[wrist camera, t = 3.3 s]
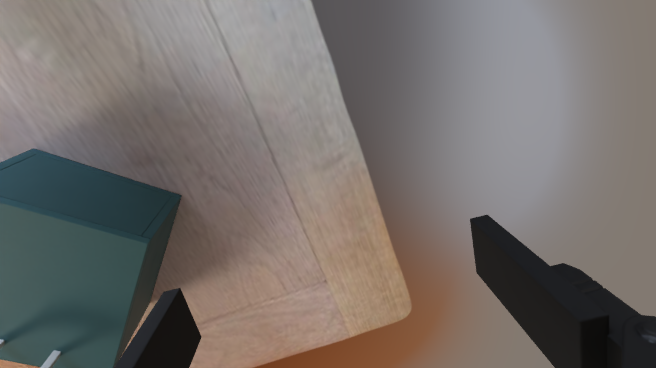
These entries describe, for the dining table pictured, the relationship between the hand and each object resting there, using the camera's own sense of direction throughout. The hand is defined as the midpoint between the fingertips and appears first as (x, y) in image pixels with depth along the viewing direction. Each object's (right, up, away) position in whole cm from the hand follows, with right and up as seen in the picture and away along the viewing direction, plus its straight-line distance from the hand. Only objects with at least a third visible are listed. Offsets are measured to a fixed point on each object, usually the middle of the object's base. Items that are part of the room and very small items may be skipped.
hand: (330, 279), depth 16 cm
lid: (-27, -6, +18) cm, 33 cm away
